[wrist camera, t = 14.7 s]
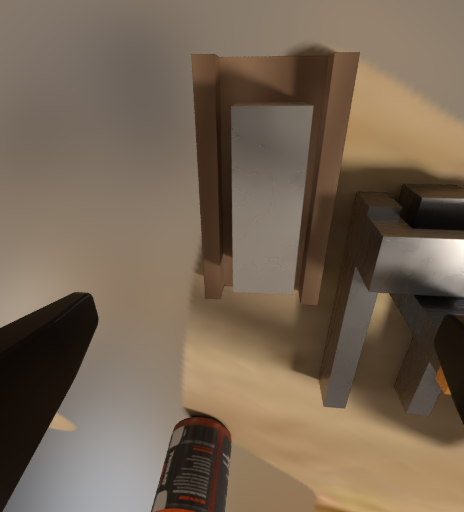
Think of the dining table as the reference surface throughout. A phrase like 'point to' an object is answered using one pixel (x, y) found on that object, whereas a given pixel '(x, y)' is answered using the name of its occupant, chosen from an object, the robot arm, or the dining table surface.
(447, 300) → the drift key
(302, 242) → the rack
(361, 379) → the dining table surface
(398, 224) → the socket
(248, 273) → the bar
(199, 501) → the supplement bottle
